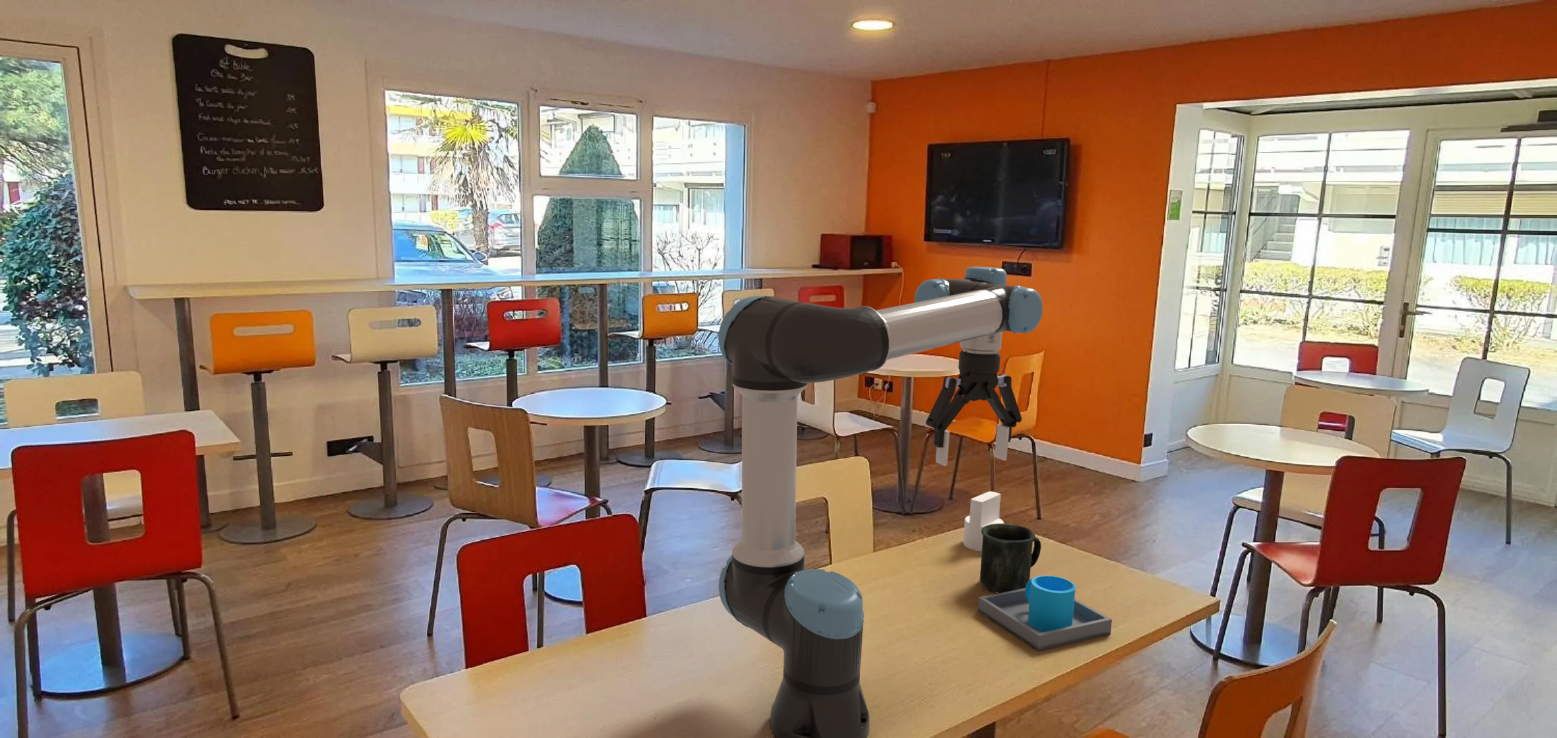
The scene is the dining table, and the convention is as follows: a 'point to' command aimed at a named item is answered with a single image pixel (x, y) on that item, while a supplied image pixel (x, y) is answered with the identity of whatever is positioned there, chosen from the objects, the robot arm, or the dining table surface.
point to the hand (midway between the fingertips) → (971, 461)
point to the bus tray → (1014, 618)
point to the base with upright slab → (981, 518)
